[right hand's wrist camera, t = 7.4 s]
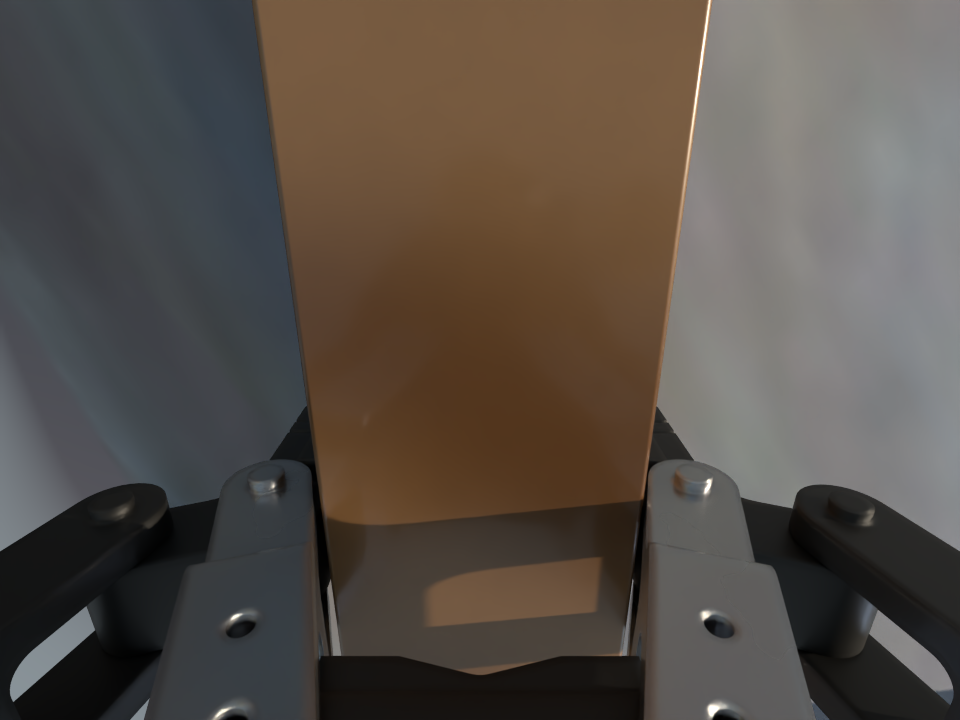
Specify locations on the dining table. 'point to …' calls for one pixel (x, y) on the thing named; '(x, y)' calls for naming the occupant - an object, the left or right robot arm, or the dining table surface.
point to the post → (481, 303)
